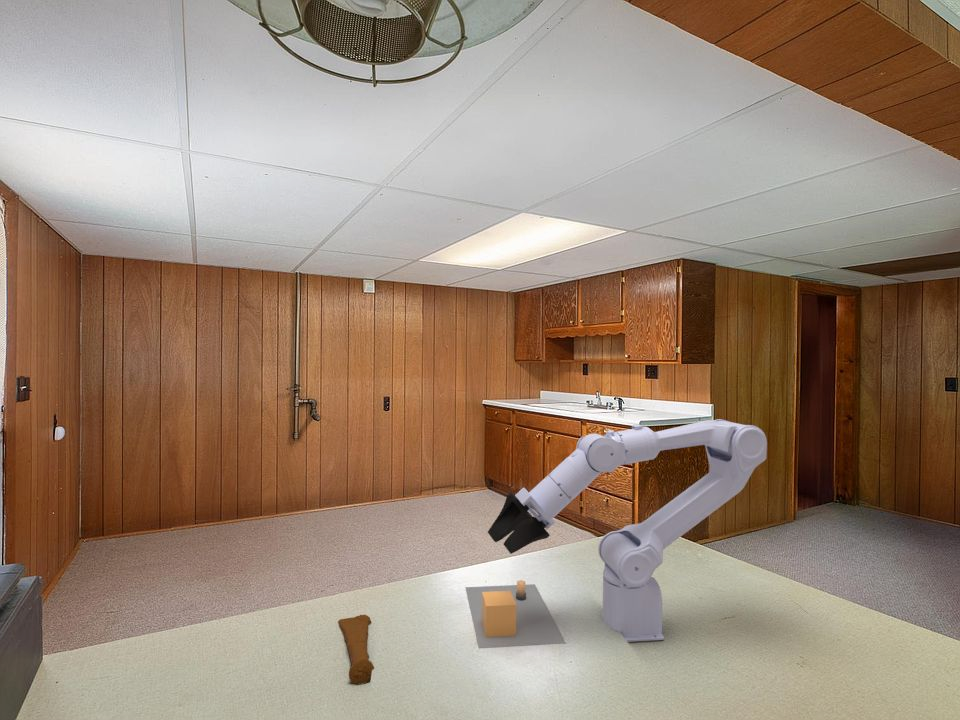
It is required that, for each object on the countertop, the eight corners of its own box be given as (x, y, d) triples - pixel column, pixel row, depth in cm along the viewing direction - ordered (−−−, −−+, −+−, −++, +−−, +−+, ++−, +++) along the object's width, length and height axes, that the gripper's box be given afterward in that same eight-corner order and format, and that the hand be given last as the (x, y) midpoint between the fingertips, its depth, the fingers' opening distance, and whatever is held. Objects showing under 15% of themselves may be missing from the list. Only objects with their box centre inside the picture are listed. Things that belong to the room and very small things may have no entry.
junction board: (534, 591, 101) (535, 569, 101) (565, 652, 80) (566, 624, 80) (465, 594, 100) (465, 572, 99) (478, 657, 79) (479, 628, 79)
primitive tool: (337, 622, 89) (338, 602, 89) (369, 617, 91) (369, 598, 91) (348, 690, 71) (349, 665, 71) (387, 682, 73) (388, 658, 73)
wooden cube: (510, 619, 87) (510, 590, 87) (515, 635, 82) (516, 604, 82) (481, 621, 87) (482, 591, 87) (485, 637, 82) (486, 606, 82)
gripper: (555, 486, 94) (500, 536, 93) (532, 456, 83) (470, 512, 82) (580, 514, 89) (523, 567, 88) (560, 486, 78) (494, 546, 77)
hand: (499, 543), depth 85 cm, fingers open, 7 cm apart
